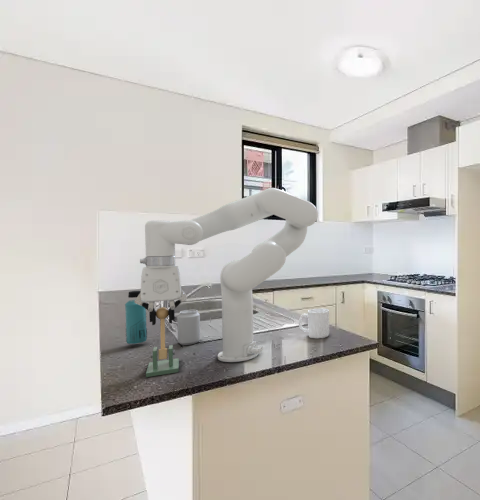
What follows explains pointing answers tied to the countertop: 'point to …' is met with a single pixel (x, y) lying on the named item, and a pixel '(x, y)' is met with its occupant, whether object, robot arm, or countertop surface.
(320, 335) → the cup
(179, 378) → the countertop surface
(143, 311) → the beverage bottle
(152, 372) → the spoon stand
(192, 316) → the can
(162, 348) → the spoon
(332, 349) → the countertop surface
